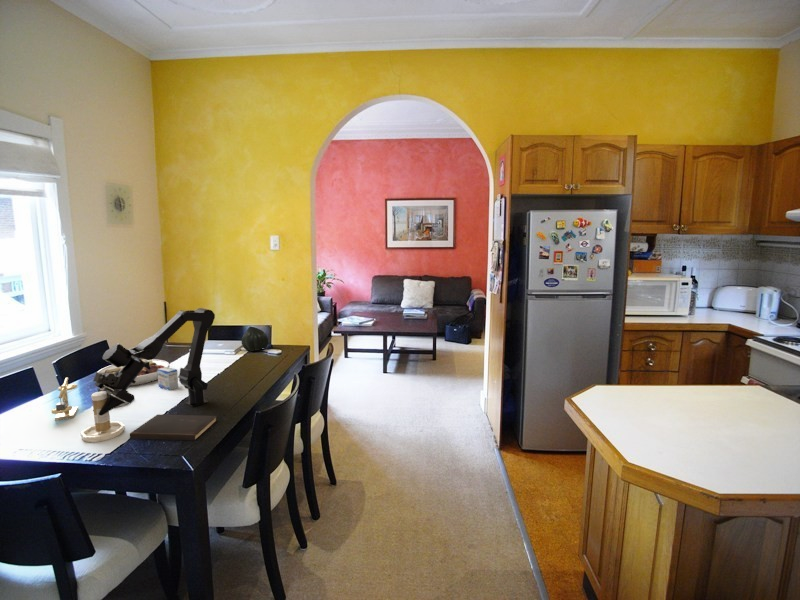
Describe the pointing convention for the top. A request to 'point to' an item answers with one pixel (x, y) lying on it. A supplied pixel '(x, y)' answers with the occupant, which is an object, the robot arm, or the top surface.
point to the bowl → (145, 374)
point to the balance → (65, 403)
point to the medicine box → (167, 378)
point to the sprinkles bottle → (98, 402)
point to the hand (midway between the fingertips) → (96, 413)
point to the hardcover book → (173, 427)
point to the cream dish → (102, 433)
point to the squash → (254, 339)
